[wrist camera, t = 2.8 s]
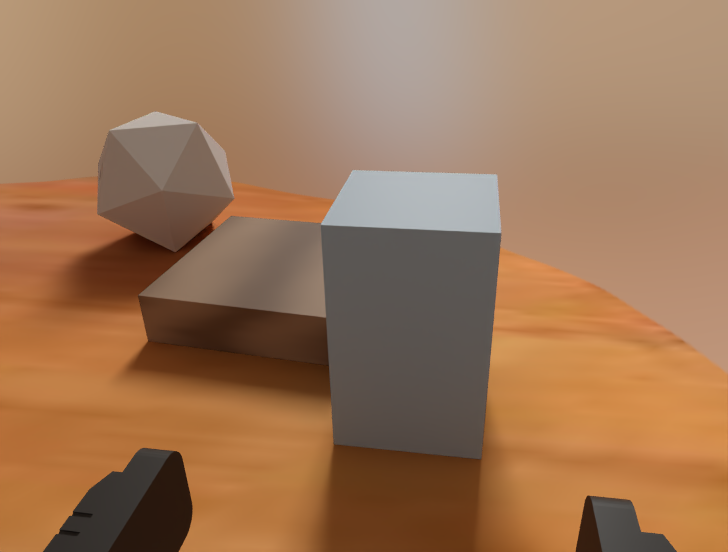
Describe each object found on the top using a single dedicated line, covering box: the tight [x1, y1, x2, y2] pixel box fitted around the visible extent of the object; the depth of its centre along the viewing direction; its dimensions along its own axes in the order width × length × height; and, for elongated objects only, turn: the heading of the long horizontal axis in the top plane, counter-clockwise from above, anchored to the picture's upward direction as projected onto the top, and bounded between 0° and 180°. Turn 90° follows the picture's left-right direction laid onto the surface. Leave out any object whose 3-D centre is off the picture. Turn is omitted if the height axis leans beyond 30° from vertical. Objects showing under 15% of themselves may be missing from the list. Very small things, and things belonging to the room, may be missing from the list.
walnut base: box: [138, 216, 329, 366], centre depth 32 cm, size 10×10×3 cm
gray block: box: [321, 170, 501, 459], centre depth 23 cm, size 6×6×9 cm
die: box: [97, 111, 234, 252], centre depth 39 cm, size 8×9×10 cm
